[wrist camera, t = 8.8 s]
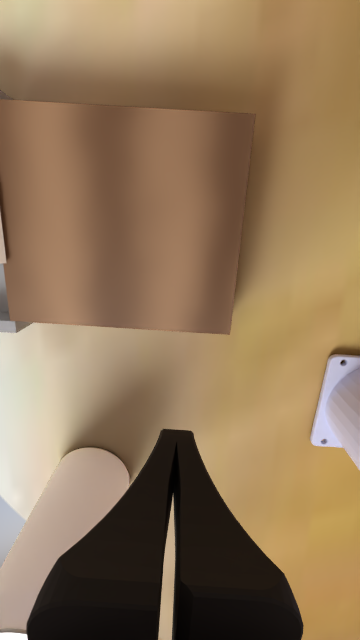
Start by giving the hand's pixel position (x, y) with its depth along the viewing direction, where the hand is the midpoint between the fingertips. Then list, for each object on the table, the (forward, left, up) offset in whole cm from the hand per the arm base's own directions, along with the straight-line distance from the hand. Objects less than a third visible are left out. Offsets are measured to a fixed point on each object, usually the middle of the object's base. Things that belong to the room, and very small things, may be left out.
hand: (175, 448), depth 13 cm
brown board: (+4, -9, -10) cm, 14 cm away
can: (+7, +12, -10) cm, 17 cm away
